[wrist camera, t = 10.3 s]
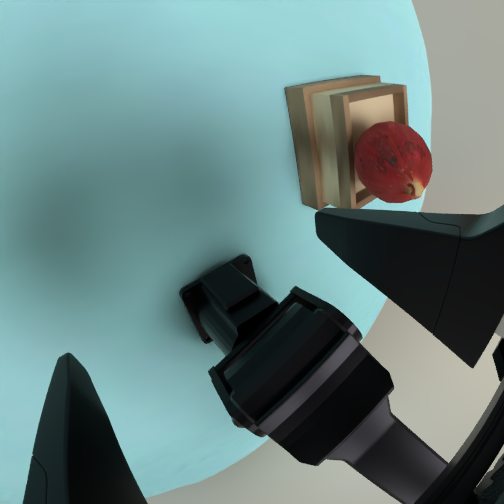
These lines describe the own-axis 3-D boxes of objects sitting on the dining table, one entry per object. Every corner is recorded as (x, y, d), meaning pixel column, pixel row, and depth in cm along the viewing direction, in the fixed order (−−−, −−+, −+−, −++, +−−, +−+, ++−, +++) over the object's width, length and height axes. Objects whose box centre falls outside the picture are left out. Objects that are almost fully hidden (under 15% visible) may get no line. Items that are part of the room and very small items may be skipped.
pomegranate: (328, 138, 22) (356, 184, 16) (383, 96, 20) (433, 126, 13) (368, 187, 25) (401, 244, 19) (418, 150, 22) (466, 196, 16)
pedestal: (370, 168, 31) (410, 181, 27) (302, 203, 27) (346, 223, 23) (363, 75, 25) (408, 78, 21) (284, 87, 21) (335, 88, 17)
